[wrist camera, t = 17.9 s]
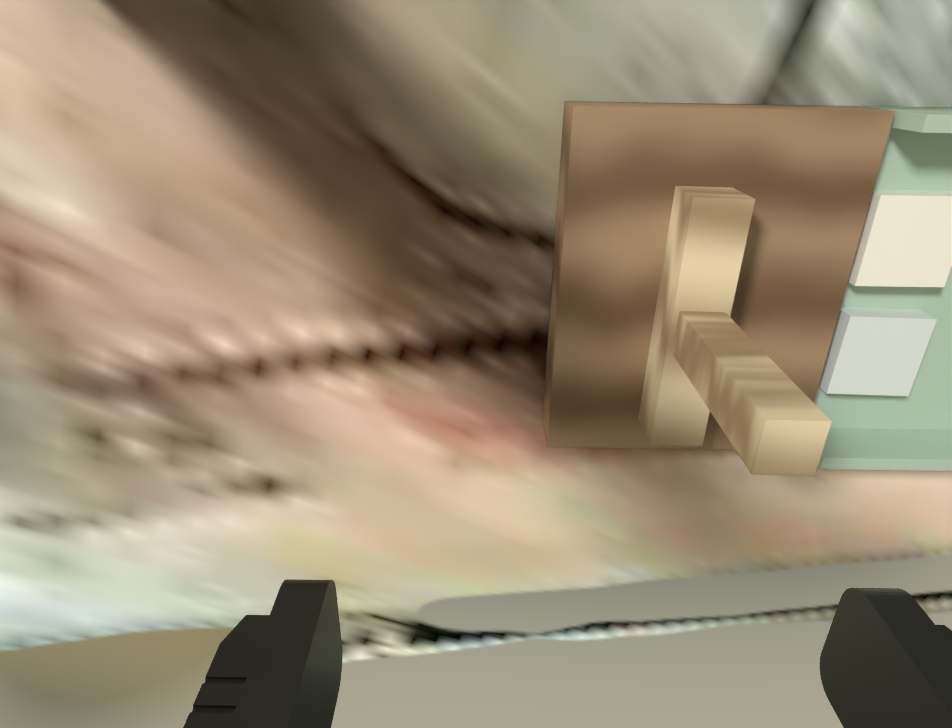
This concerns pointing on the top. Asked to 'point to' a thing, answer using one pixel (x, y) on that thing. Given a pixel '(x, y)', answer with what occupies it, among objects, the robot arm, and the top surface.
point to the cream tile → (905, 240)
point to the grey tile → (876, 351)
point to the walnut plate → (645, 235)
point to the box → (948, 352)
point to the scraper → (720, 348)
